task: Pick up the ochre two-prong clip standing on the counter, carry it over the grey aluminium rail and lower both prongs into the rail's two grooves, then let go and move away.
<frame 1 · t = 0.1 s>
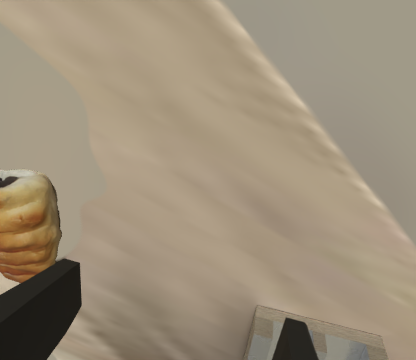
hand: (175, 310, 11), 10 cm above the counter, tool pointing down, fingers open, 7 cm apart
pastry: (31, 212, 25), on the counter
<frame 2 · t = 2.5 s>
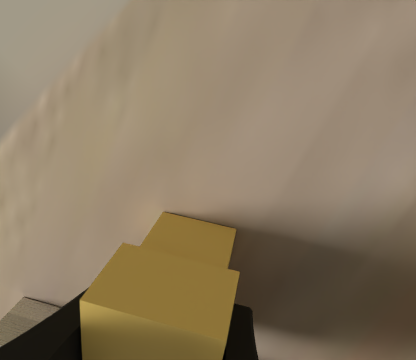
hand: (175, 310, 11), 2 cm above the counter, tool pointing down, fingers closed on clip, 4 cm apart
clip: (192, 268, 13), on the counter, touching gripper
when the fingers open (4 cm above the counter, at t = 5.6 s): clip stays where it is, resting on rail.
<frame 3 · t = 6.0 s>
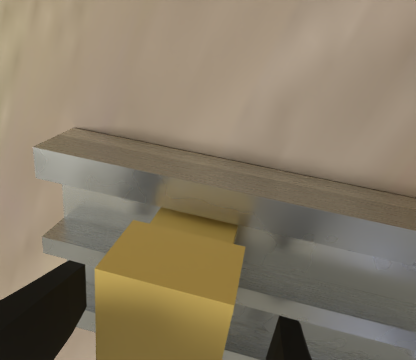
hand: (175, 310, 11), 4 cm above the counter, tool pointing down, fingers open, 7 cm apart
rail: (246, 255, 15), on the counter
clip: (197, 250, 14), point 1 cm above the counter, touching rail
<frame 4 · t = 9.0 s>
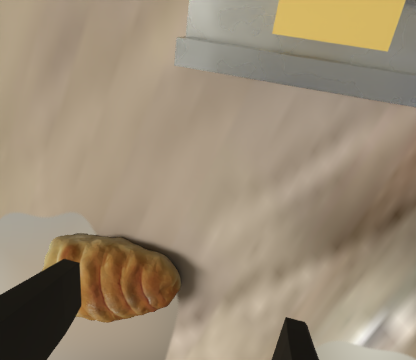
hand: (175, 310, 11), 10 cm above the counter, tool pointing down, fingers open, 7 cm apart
pastry: (115, 263, 25), on the counter
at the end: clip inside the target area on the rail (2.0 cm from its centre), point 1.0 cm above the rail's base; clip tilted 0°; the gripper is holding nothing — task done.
